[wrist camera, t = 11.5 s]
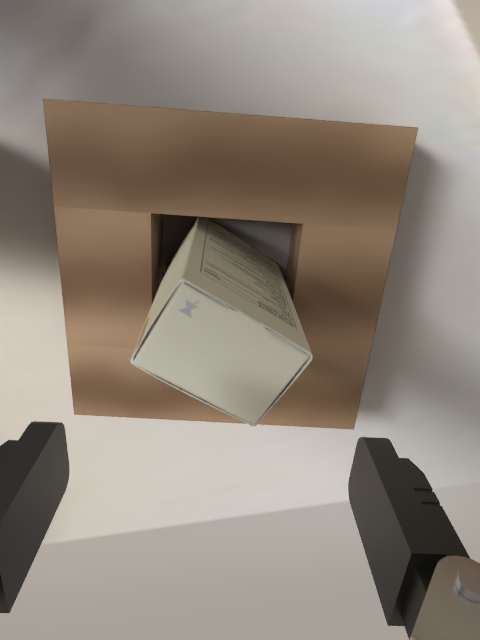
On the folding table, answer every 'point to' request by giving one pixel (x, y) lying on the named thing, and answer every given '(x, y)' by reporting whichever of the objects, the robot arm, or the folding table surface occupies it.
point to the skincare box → (223, 326)
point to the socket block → (232, 203)
